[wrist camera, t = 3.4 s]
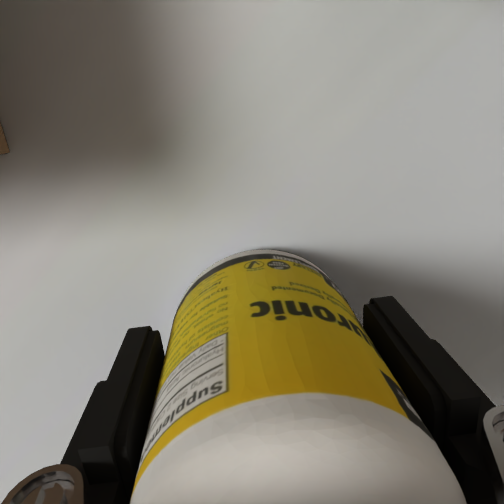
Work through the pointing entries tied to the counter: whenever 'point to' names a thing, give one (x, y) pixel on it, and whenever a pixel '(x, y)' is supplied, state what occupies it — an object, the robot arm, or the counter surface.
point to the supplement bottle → (281, 399)
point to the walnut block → (3, 142)
